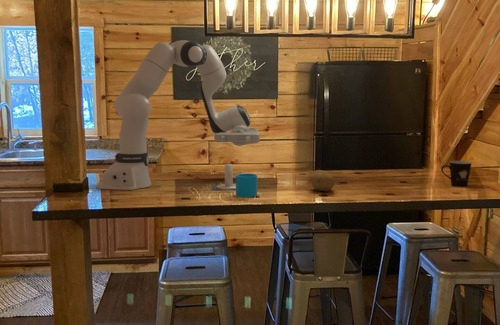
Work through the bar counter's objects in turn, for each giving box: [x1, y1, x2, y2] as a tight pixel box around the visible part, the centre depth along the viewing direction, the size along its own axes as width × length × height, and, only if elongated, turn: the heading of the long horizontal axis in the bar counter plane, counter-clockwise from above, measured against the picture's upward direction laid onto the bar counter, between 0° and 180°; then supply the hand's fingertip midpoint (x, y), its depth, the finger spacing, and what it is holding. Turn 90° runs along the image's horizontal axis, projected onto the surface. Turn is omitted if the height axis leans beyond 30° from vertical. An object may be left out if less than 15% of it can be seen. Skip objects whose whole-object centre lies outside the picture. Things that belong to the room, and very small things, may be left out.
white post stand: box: [216, 163, 236, 191], centre depth 218 cm, size 10×10×10 cm
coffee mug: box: [440, 160, 472, 188], centre depth 226 cm, size 12×9×10 cm
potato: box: [310, 169, 335, 192], centre depth 214 cm, size 10×14×8 cm
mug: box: [235, 173, 258, 198], centre depth 206 cm, size 12×8×8 cm
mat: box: [211, 184, 236, 192], centre depth 219 cm, size 14×12×1 cm
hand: (234, 139), depth 228 cm, fingers open, 8 cm apart
